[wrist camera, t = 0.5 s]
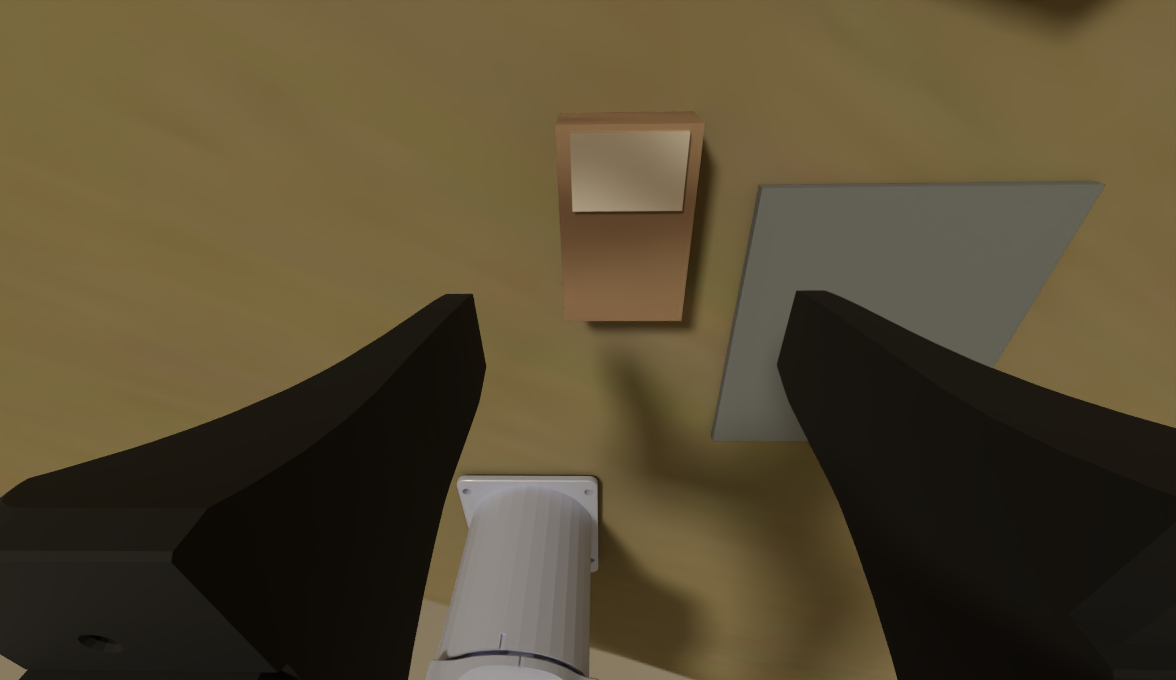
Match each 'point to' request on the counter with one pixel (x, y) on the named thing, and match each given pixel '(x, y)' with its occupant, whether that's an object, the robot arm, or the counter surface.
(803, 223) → the slate mat
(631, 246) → the walnut block
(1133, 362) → the counter surface
